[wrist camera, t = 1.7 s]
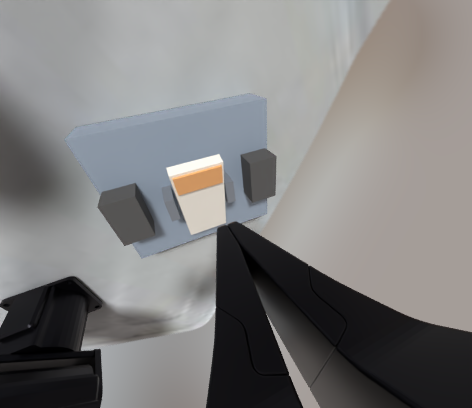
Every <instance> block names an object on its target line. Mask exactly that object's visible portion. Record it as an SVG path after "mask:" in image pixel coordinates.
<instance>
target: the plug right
mask: <svg viewBox="0 0 472 408" xmlns="http://www.w3.org/2000/svg"><path fill="white" fill-rule="evenodd" d="M240 156H241V167H242V178H243V188H244V193H245V194H246V195H247V197H248V198H249V199H250V200H251V202H252V203H254V202H257V201H260V200H263V199H266V198H269V197H272V196H275V189H276V156H275V155H274V154H273V153H271V152H270V151H268V150H267V149H265V148H263V149H259V150H256V151H252V152H248V153H245V154H241V155H240Z"/></svg>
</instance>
